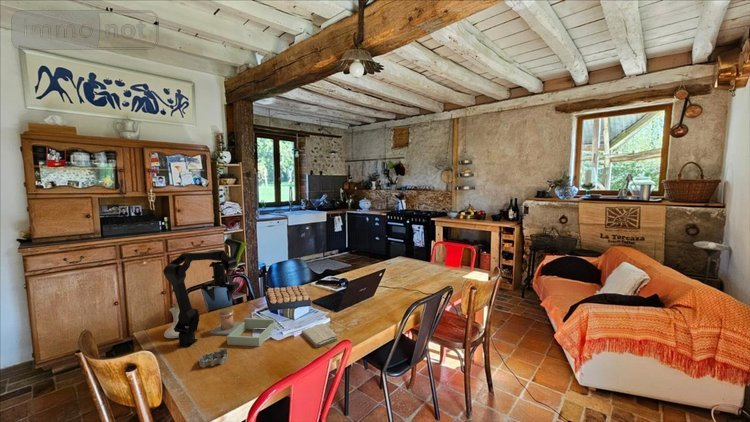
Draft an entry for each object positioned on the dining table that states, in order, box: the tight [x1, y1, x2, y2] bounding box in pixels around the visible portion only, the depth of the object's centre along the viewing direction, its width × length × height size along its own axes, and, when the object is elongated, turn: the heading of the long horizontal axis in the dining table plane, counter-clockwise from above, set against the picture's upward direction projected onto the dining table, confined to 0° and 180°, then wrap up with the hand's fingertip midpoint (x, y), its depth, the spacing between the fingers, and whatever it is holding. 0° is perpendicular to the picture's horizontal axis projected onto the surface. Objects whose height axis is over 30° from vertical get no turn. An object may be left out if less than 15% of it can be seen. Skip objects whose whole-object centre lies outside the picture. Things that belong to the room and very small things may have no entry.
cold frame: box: [226, 317, 276, 347], centre depth 155 cm, size 16×16×6 cm
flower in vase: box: [163, 301, 186, 339], centre depth 158 cm, size 13×11×25 cm
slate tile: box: [209, 321, 244, 336], centre depth 163 cm, size 12×12×1 cm
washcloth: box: [301, 323, 339, 348], centre depth 153 cm, size 12×18×3 cm, turn 37°
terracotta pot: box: [218, 309, 235, 330], centre depth 163 cm, size 7×7×8 cm
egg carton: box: [198, 347, 229, 368], centre depth 135 cm, size 11×8×4 cm
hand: (221, 301), depth 170 cm, fingers open, 9 cm apart
